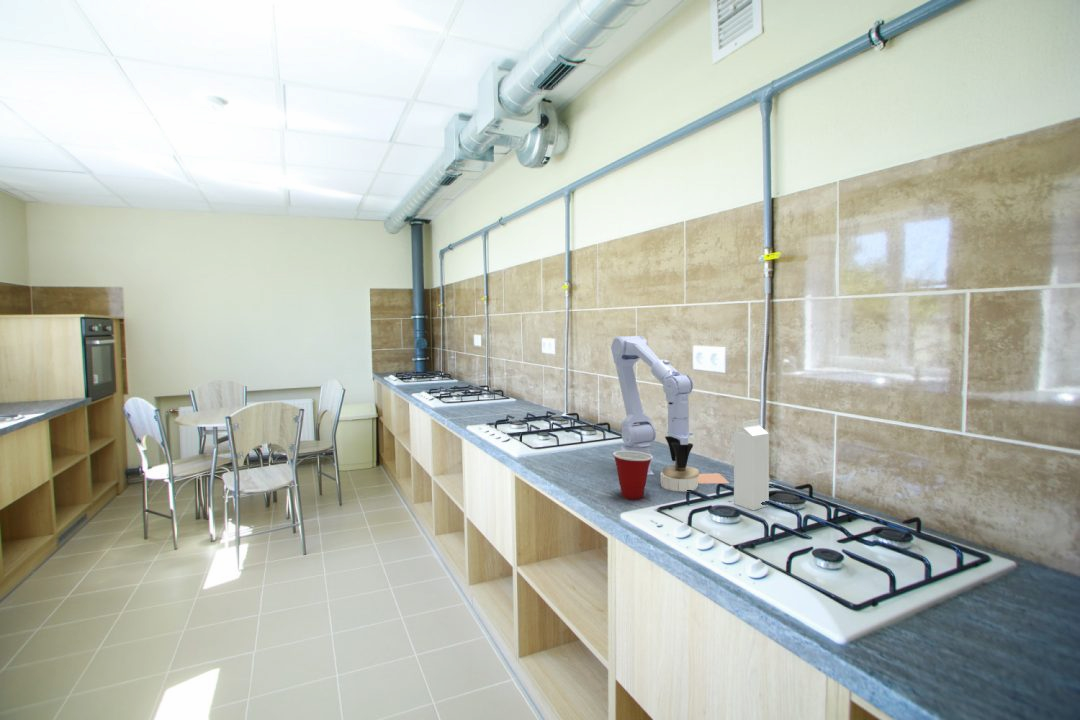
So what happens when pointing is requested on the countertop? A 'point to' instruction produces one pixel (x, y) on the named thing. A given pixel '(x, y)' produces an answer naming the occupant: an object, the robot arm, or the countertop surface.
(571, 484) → the countertop surface
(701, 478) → the mat
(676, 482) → the bowl
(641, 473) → the plastic cup
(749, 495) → the milk
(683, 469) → the lid
